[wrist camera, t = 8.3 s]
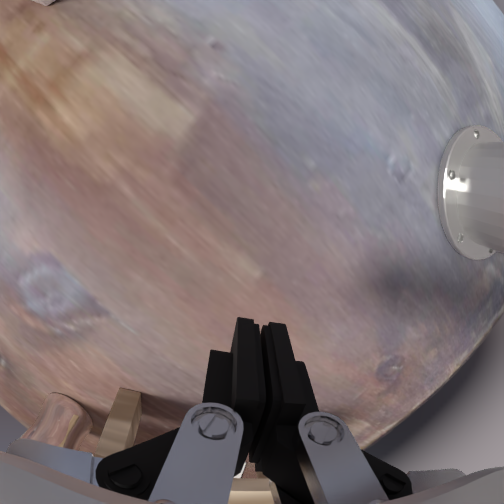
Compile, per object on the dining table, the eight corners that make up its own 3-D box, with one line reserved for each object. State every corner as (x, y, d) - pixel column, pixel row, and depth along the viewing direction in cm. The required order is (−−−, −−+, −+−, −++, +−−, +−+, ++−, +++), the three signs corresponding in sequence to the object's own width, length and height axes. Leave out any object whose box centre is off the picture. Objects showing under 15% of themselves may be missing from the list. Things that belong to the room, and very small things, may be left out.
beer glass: (108, 433, 24) (75, 545, 9) (65, 433, 23) (27, 527, 9) (72, 386, 22) (13, 505, 7) (31, 390, 22) (-27, 484, 7)
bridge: (119, 387, 22) (90, 465, 13) (277, 409, 24) (297, 489, 15) (122, 409, 23) (98, 483, 14) (270, 428, 25) (286, 504, 16)
